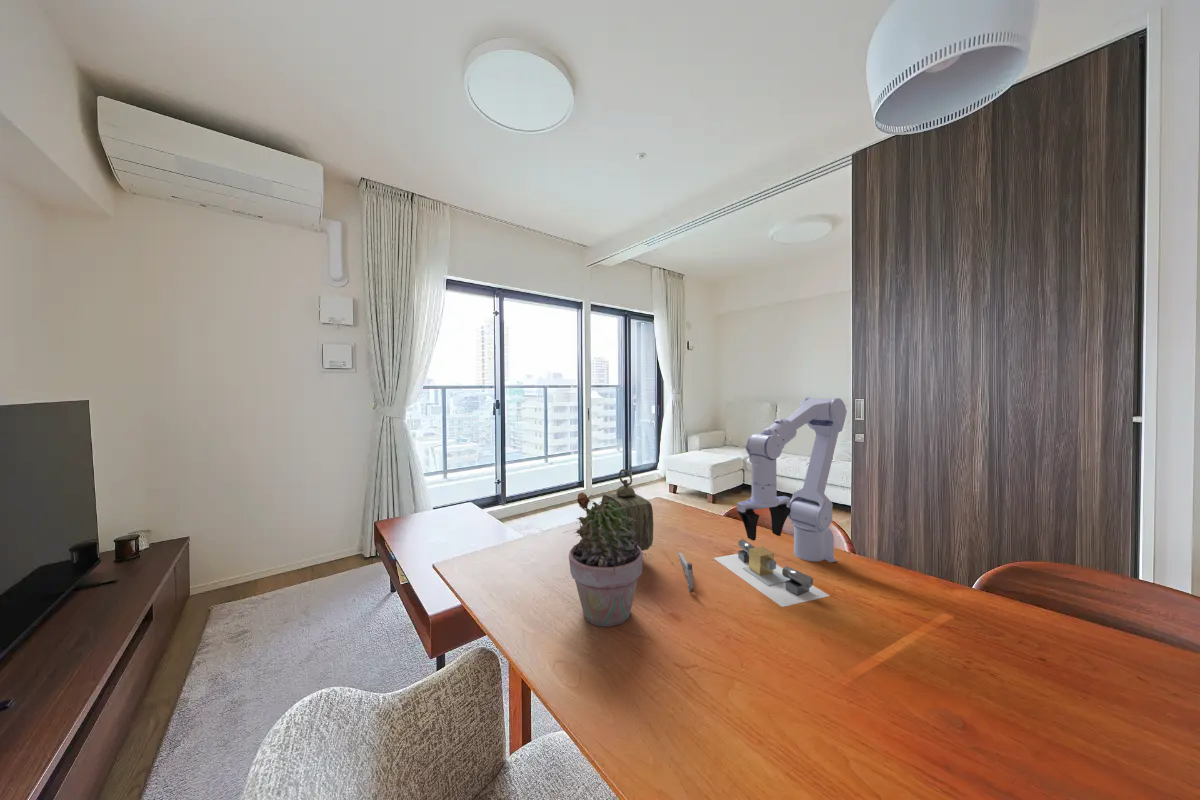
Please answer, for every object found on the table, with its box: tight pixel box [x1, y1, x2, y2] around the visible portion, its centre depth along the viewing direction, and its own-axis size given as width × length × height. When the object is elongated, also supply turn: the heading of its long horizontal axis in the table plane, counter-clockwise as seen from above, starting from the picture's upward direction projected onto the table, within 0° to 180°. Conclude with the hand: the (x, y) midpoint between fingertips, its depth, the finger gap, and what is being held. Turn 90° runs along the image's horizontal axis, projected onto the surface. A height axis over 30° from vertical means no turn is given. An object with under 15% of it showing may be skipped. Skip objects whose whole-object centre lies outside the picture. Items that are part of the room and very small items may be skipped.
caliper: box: [677, 552, 694, 592], centre depth 102 cm, size 20×1×6 cm, turn 177°
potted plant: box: [563, 491, 657, 628], centre depth 83 cm, size 18×20×25 cm
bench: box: [713, 553, 831, 608], centre depth 97 cm, size 13×25×1 cm, turn 18°
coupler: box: [748, 546, 777, 576], centre depth 99 cm, size 4×8×5 cm, turn 18°
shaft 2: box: [782, 565, 814, 596], centre depth 90 cm, size 6×4×4 cm, turn 28°
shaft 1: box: [737, 538, 756, 563], centre depth 106 cm, size 6×4×4 cm, turn 8°
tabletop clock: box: [601, 468, 654, 552], centre depth 109 cm, size 14×9×25 cm, turn 25°
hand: (764, 536), depth 99 cm, fingers open, 7 cm apart
